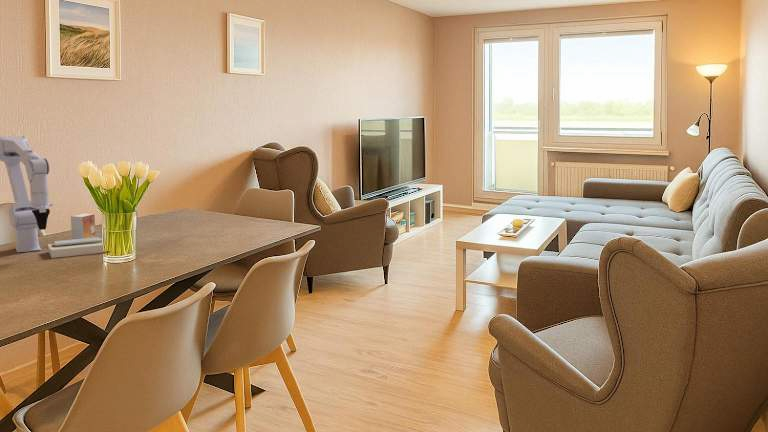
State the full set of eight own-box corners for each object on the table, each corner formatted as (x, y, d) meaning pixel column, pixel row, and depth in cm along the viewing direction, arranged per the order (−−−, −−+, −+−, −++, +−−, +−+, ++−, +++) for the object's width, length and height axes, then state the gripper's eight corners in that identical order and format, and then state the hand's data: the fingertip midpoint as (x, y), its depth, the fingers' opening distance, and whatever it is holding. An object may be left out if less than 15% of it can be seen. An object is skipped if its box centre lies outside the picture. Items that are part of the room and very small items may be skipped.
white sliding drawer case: (51, 258, 232) (51, 250, 232) (48, 252, 241) (47, 244, 241) (110, 251, 243) (109, 244, 242) (104, 246, 252) (104, 238, 252)
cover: (54, 246, 236) (54, 244, 236) (52, 243, 241) (52, 241, 241) (102, 241, 245) (102, 239, 245) (100, 238, 250) (99, 236, 250)
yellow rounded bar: (67, 243, 243) (68, 251, 243) (68, 243, 240) (69, 250, 240) (92, 241, 248) (93, 249, 247) (94, 240, 245) (94, 248, 245)
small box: (83, 242, 259) (82, 216, 257) (71, 241, 260) (70, 216, 258) (96, 238, 267) (94, 213, 265) (84, 237, 268) (82, 213, 266)
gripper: (54, 194, 226) (57, 231, 228) (49, 189, 238) (52, 225, 240) (31, 195, 222) (34, 233, 224) (28, 190, 234) (31, 226, 236)
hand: (42, 229), depth 232 cm, fingers closed
